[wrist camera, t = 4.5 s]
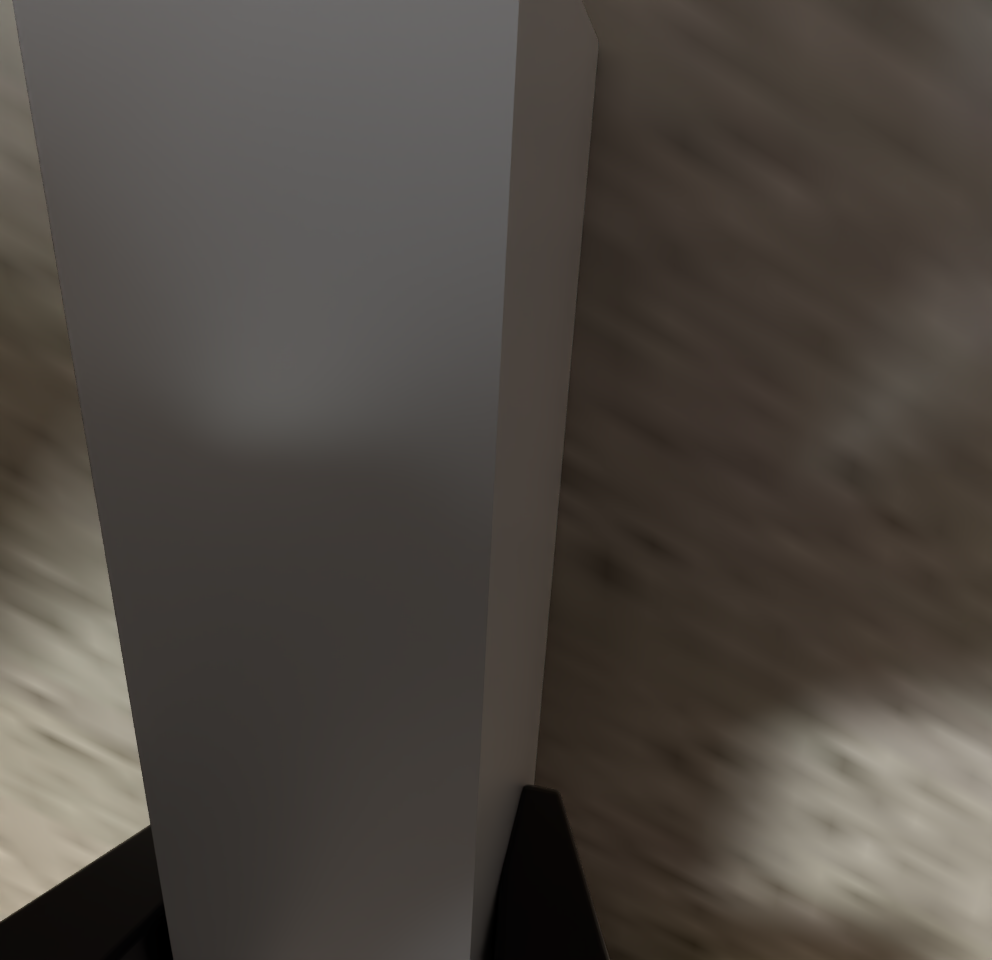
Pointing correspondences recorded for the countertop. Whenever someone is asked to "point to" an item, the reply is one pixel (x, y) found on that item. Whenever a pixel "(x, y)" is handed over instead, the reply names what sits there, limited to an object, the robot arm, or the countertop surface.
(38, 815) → the countertop surface
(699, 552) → the countertop surface
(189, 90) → the grey t-shaped block
